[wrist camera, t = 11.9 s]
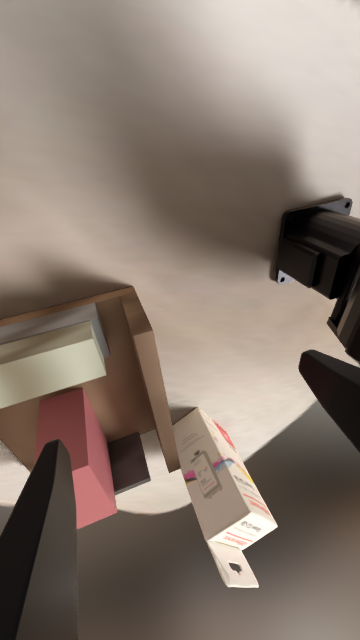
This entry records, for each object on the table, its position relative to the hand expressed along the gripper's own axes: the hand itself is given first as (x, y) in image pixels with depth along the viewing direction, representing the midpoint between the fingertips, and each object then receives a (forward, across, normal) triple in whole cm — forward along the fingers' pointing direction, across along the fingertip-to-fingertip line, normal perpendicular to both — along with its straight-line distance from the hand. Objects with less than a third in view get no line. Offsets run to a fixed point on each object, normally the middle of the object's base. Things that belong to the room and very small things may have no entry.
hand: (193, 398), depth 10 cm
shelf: (+13, +7, +10) cm, 18 cm away
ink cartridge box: (+13, -4, +24) cm, 28 cm away
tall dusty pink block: (+12, +8, +14) cm, 20 cm away
